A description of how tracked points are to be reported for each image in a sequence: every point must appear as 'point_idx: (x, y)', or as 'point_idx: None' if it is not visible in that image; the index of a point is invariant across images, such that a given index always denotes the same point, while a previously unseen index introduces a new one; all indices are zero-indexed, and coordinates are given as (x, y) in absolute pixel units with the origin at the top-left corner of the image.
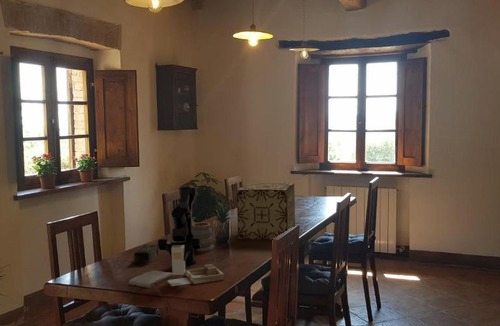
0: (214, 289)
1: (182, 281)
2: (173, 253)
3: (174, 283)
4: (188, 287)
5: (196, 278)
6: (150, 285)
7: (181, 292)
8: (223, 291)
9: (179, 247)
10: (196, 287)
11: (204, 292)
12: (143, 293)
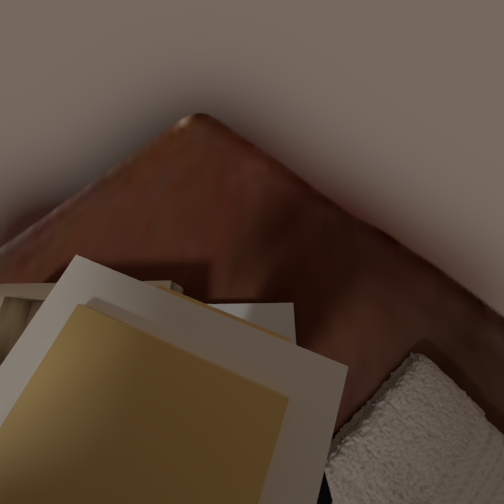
0: (131, 200)
1: None
2: (284, 337)
3: None
4: (217, 269)
5: (156, 281)
6: (411, 363)
7: (264, 219)
8: (114, 169)
9: (128, 324)
10: (185, 254)
11: (180, 185)
12: (438, 277)
